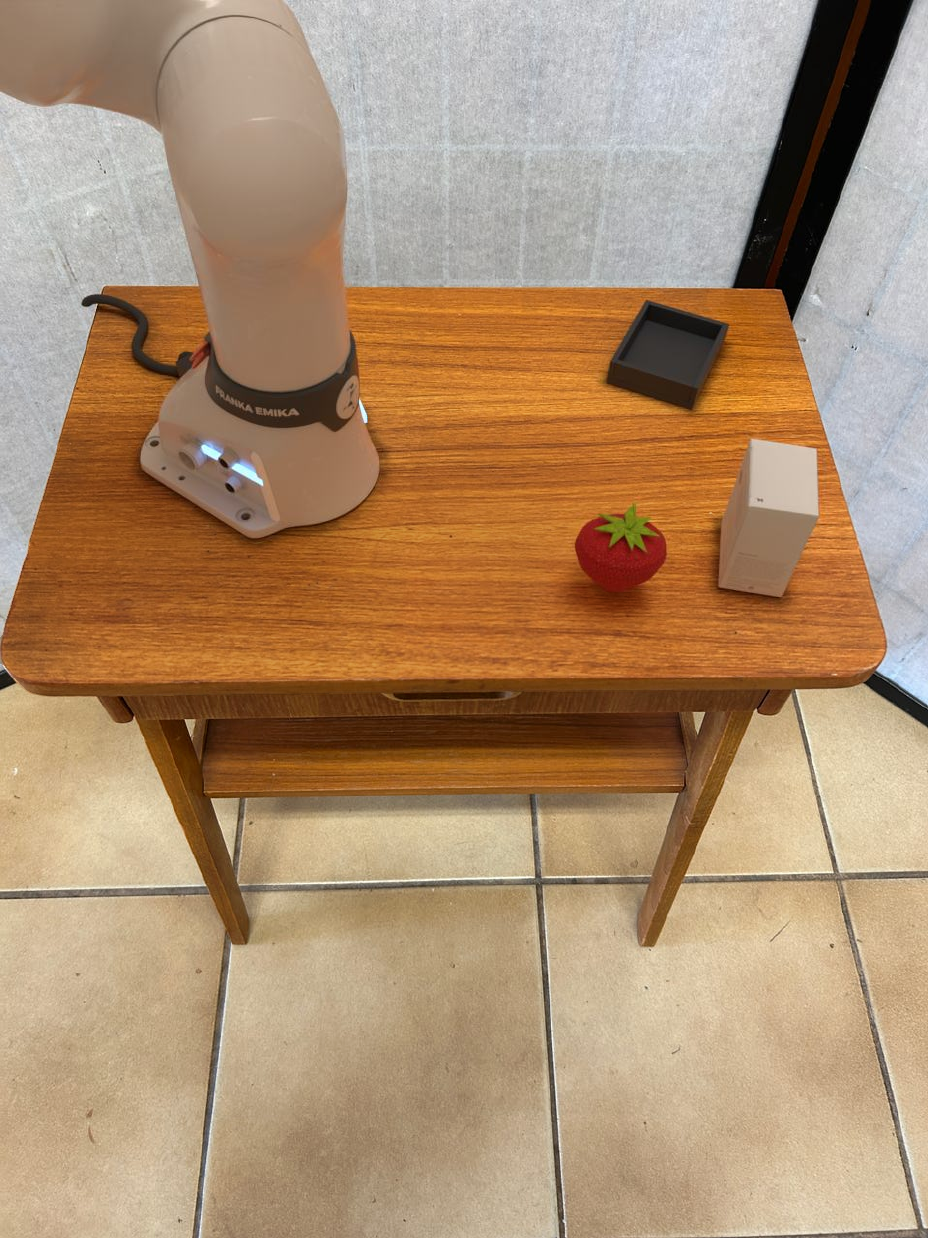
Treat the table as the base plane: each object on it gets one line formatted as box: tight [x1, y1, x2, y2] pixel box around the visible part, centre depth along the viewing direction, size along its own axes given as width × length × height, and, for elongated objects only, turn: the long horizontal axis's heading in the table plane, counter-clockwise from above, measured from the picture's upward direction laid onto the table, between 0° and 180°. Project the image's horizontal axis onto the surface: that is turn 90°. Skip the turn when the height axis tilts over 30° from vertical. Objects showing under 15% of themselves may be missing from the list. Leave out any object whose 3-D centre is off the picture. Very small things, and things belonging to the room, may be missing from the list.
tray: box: [606, 299, 730, 411], centre depth 99 cm, size 9×11×3 cm
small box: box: [717, 438, 820, 598], centre depth 80 cm, size 8×6×10 cm
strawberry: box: [574, 502, 668, 594], centre depth 78 cm, size 6×8×10 cm
